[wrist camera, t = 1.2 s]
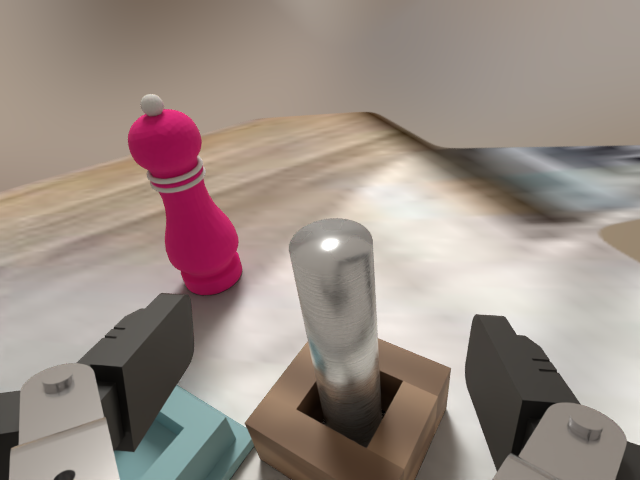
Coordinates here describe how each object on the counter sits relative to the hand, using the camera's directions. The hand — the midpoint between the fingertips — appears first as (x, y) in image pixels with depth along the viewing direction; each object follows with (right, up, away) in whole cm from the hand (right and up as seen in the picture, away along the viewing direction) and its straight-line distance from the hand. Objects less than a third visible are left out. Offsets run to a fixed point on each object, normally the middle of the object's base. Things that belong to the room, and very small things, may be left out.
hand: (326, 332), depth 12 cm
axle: (+2, -12, +20) cm, 23 cm away
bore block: (+2, -12, +20) cm, 23 cm away
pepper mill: (-12, -1, +35) cm, 37 cm away
